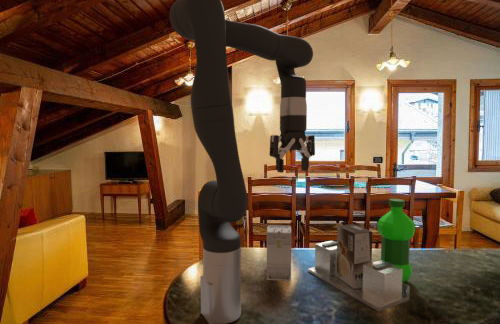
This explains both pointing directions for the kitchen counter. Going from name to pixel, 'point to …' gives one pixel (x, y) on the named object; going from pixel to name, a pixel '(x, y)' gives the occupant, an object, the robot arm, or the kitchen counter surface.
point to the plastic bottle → (396, 237)
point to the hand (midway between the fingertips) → (292, 171)
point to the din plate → (374, 279)
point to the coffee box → (353, 253)
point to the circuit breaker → (279, 253)
